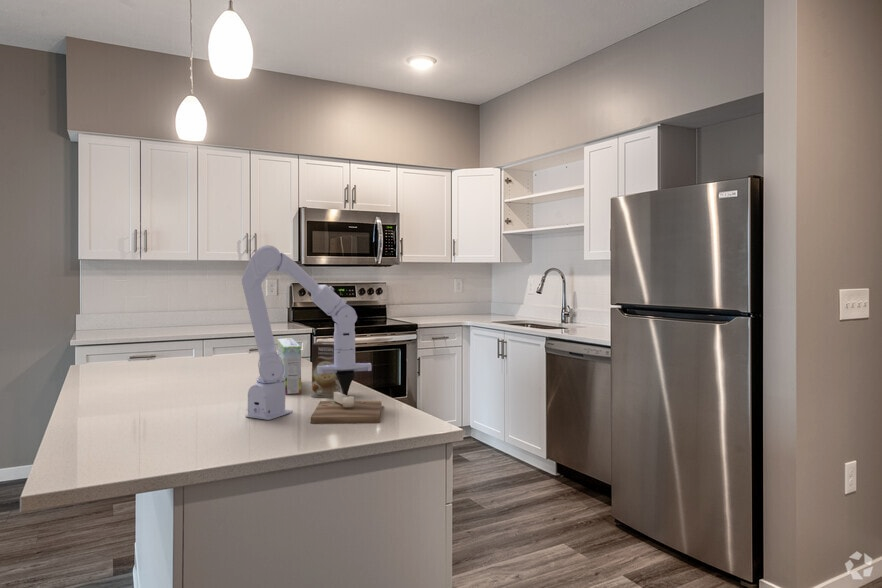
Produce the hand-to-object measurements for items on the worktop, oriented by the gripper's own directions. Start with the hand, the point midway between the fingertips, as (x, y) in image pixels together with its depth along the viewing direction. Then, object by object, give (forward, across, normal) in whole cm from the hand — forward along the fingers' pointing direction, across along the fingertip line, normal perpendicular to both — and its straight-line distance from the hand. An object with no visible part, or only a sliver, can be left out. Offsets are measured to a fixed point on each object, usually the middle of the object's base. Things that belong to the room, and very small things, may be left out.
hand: (344, 398), depth 161 cm
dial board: (+3, 0, +6) cm, 6 cm away
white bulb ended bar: (+1, +1, +2) cm, 2 cm away
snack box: (+3, +11, -35) cm, 37 cm away
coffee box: (+3, +1, -19) cm, 20 cm away
